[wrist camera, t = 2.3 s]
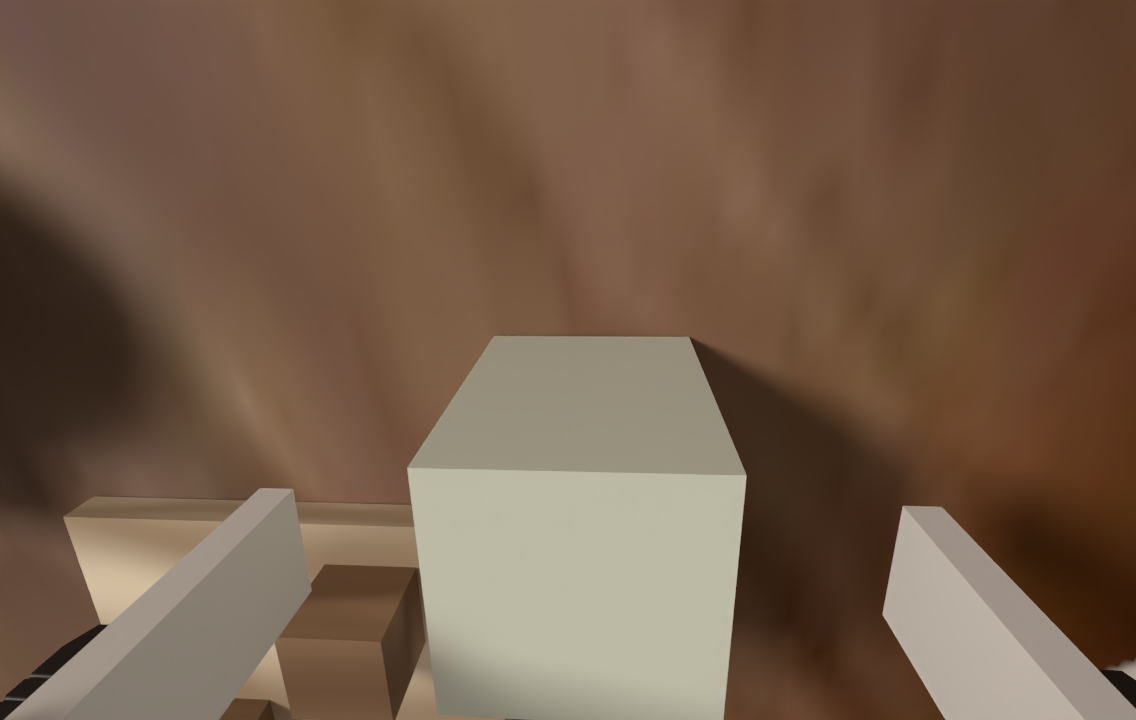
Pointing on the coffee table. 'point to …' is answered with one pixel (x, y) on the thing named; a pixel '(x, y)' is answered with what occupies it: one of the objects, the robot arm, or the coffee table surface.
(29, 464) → the coffee table surface
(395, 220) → the coffee table surface
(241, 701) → the tall post
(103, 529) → the board
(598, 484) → the pale green block
